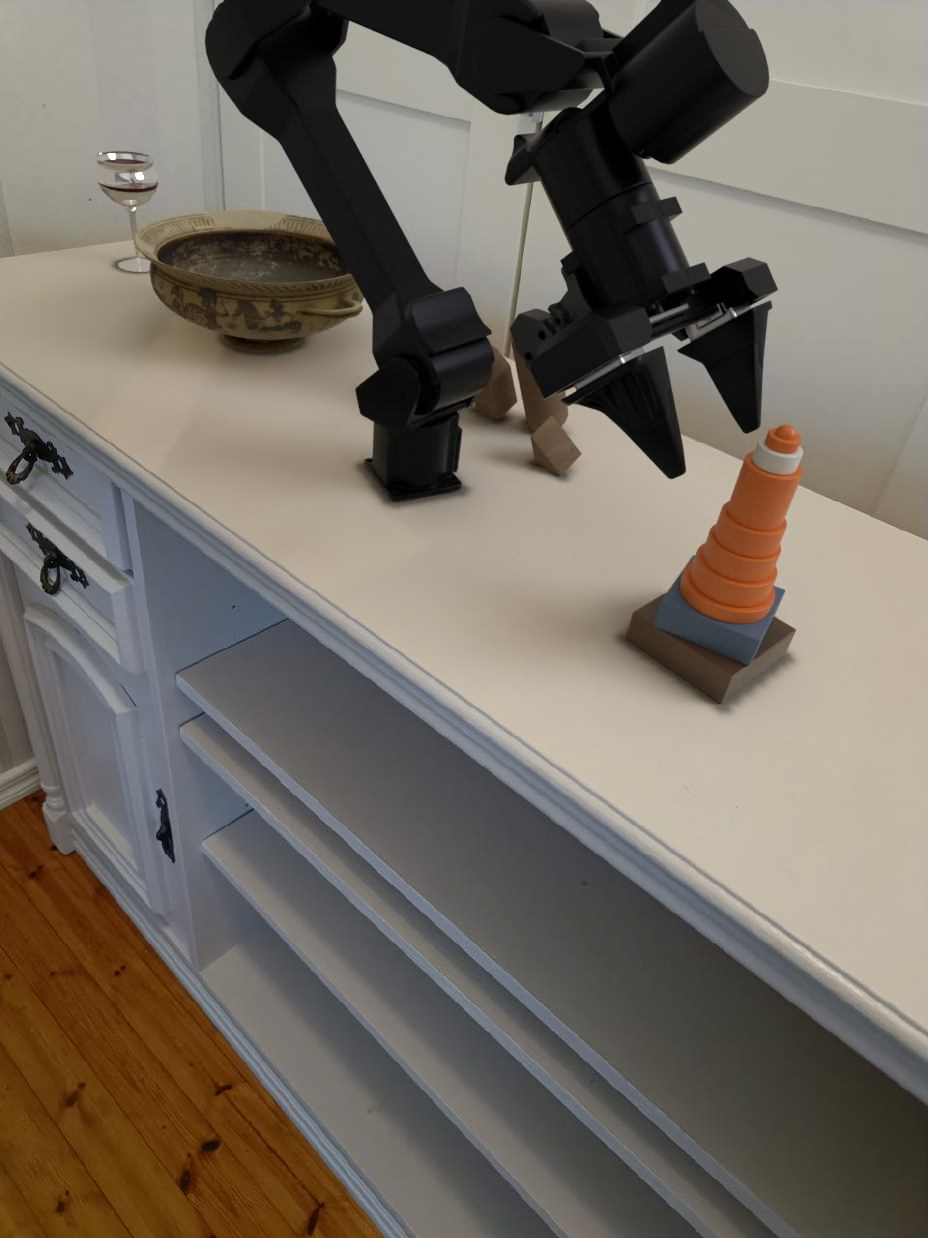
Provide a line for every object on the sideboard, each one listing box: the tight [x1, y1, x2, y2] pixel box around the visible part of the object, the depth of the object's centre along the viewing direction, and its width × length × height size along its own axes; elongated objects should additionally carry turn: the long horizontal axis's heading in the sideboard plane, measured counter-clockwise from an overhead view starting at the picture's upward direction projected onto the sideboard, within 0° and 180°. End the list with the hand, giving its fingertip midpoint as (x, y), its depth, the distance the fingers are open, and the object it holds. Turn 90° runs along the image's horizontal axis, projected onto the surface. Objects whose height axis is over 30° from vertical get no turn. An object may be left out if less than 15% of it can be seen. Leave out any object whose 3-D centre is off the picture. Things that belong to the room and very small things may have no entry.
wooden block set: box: [473, 334, 582, 476], centre depth 78 cm, size 18×9×10 cm, turn 47°
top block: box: [654, 554, 786, 666], centre depth 57 cm, size 7×7×2 cm
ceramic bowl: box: [135, 209, 365, 352], centre depth 89 cm, size 30×24×10 cm
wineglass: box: [93, 150, 159, 273], centre depth 102 cm, size 7×7×12 cm
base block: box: [625, 591, 797, 704], centre depth 58 cm, size 8×8×2 cm
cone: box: [680, 423, 804, 624], centre depth 52 cm, size 6×6×12 cm
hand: (717, 452), depth 52 cm, fingers open, 9 cm apart
